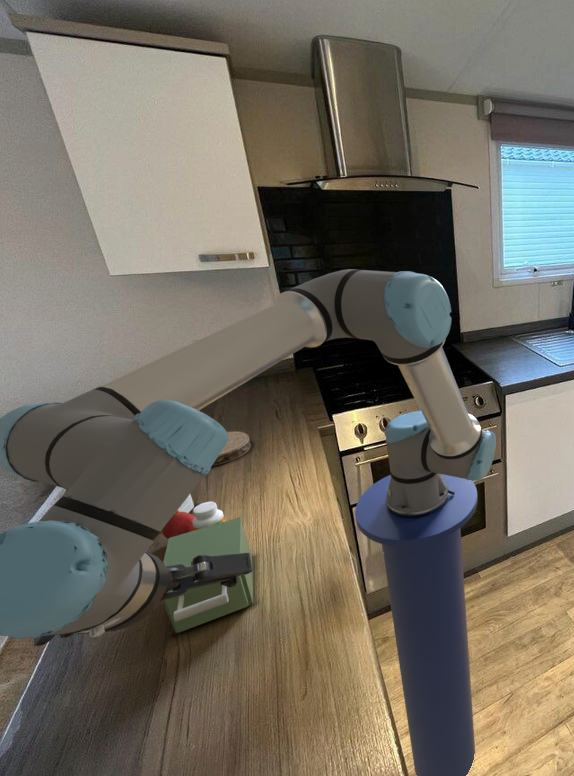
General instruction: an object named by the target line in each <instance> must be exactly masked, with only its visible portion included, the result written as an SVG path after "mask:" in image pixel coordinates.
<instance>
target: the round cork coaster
mask: <svg viewBox="0 0 574 776" xmlns="http://www.w3.org/2000/svg"><path fill="white" fill-rule="evenodd" d="M226 432H227V434H228V442H227V444H226V445H225V447H224V448H223V450H222V451H221V453H220V454H219V456H218V457H217V459H216V460H215V462H214V463H213V465H212V466H211V467H214V466H219V465H223V464H226V463H229V462H233V461H235V460H237V459H239V458H241V457H242V456H243V455H246V453H248V452H249V451H250V449H251V446H252V444H251V440H250V436H249V435H248V433H245V432H243V431H237V430H236V431H235V430H233V431H226Z"/></svg>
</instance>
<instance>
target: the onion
mask: <svg viewBox="0 0 574 776" xmlns="http://www.w3.org/2000/svg"><path fill="white" fill-rule="evenodd" d="M194 518H195V516H194V515H193V514H191V513H190V512H189V513H187V512H179V510H177V511H176V513H175V514H174V515H173V516H172V518H171V519H170V520H169V521H168V523H167V524H166V525H165V526H164V528H163V529H162V530H161V532H162V535H163V537H164V538H165V539H167V540H168V539H169V538H171V537H174V536H178V535H181V534H184V533H188V532H191V531H195V530H194V527H193V519H194Z"/></svg>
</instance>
